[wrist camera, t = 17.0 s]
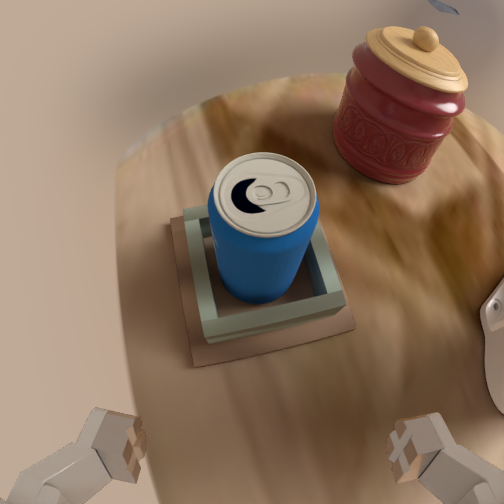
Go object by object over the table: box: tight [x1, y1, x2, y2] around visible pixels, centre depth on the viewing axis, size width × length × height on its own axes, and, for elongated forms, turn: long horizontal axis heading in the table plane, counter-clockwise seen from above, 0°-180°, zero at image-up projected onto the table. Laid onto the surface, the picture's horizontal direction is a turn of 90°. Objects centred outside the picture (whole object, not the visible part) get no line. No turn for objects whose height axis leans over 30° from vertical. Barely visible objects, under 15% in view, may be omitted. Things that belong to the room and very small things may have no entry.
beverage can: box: [208, 152, 319, 304], centre depth 23 cm, size 6×6×12 cm
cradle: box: [170, 205, 356, 368], centre depth 27 cm, size 14×14×4 cm
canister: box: [333, 26, 468, 184], centre depth 29 cm, size 13×13×18 cm
